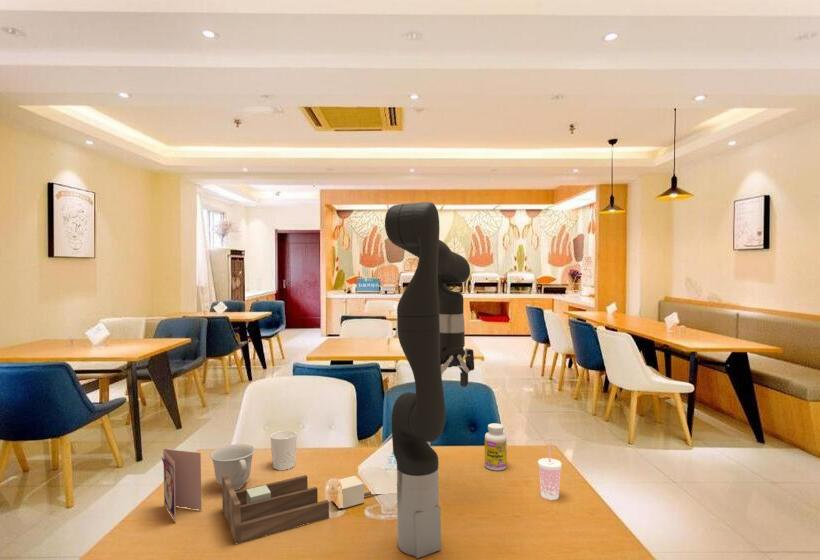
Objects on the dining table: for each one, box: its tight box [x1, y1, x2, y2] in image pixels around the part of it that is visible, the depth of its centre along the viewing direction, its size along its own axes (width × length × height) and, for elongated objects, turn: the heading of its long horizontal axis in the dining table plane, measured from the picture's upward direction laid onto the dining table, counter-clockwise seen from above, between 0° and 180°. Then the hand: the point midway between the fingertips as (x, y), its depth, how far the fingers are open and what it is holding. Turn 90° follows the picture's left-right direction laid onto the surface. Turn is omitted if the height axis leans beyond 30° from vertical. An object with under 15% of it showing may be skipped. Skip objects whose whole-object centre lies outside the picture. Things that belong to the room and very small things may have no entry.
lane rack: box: [221, 474, 330, 545], centre depth 118 cm, size 18×22×9 cm
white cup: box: [270, 430, 298, 471], centre depth 147 cm, size 8×8×10 cm
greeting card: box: [160, 448, 202, 523], centre depth 120 cm, size 11×7×15 cm, turn 40°
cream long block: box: [338, 475, 373, 509], centre depth 128 cm, size 6×23×5 cm, turn 120°
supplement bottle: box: [484, 422, 508, 472], centre depth 145 cm, size 7×7×13 cm
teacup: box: [209, 443, 256, 491], centre depth 132 cm, size 12×15×10 cm
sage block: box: [245, 484, 271, 504], centre depth 120 cm, size 5×5×5 cm
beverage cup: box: [537, 443, 563, 501], centre depth 126 cm, size 6×6×14 cm
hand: (451, 388), depth 131 cm, fingers open, 8 cm apart
